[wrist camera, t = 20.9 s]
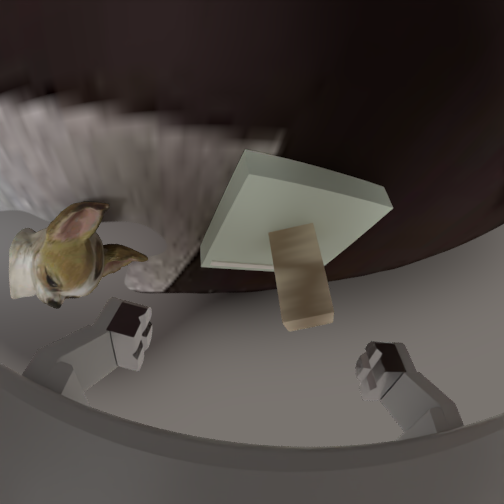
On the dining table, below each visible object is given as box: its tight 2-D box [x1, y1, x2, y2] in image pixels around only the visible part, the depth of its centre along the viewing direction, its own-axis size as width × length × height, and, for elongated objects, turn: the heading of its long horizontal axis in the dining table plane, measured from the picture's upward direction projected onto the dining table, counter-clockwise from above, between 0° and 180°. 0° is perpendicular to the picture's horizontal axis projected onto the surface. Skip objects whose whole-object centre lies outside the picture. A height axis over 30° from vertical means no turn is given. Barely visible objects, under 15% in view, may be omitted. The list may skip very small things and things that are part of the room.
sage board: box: [200, 149, 393, 271], centre depth 27 cm, size 14×14×3 cm
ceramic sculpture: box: [9, 202, 148, 309], centre depth 23 cm, size 11×9×15 cm
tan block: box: [268, 223, 334, 331], centre depth 25 cm, size 4×4×8 cm
